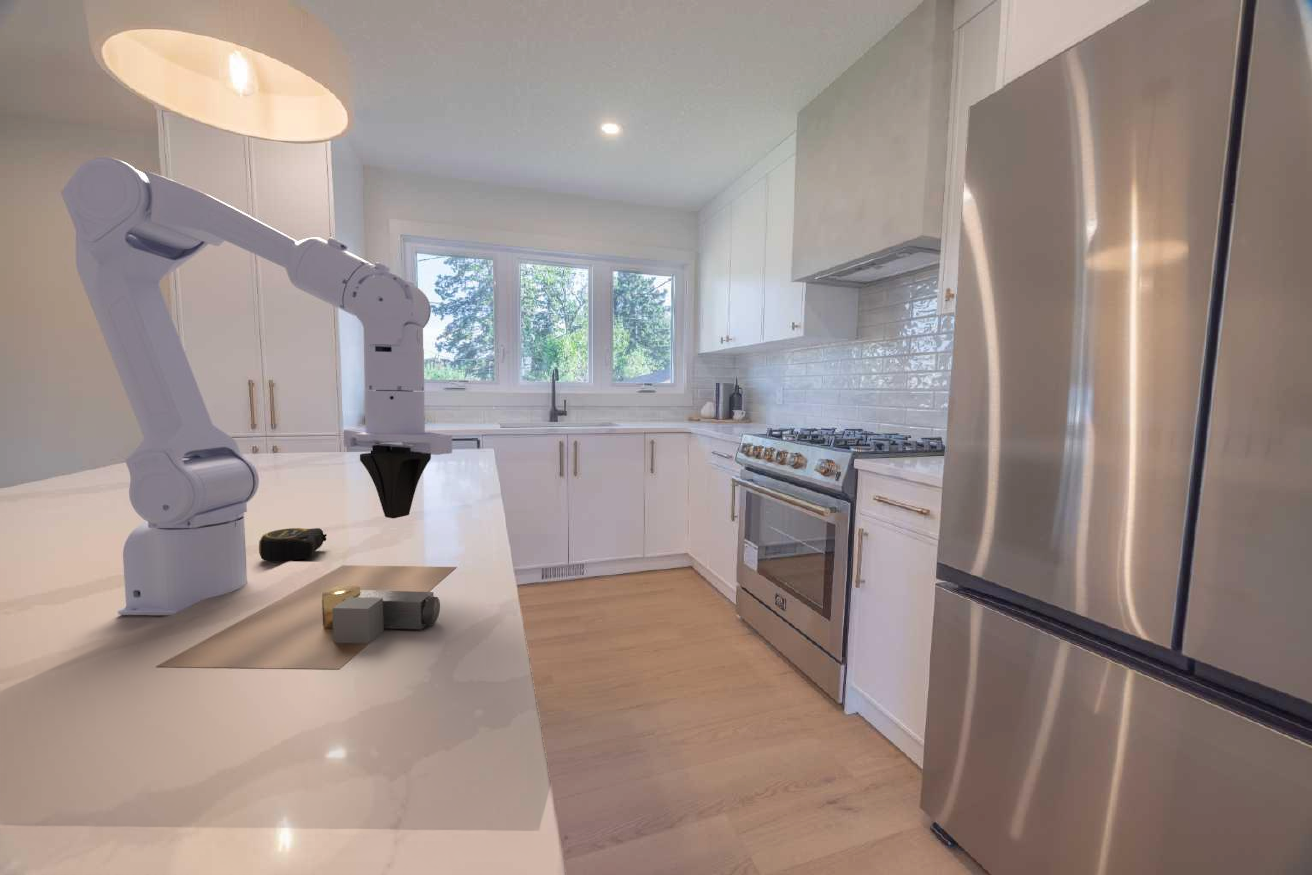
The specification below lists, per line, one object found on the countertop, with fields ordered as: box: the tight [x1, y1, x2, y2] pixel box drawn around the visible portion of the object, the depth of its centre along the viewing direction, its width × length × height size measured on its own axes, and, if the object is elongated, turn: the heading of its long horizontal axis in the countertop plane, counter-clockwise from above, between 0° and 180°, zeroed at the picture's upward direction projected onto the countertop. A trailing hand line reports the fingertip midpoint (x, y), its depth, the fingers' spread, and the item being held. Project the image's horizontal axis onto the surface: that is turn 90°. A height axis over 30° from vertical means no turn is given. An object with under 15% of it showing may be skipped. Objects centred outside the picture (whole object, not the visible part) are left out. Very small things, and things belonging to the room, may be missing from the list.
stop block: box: [332, 597, 385, 644], centre depth 45 cm, size 3×2×3 cm
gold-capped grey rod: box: [322, 585, 441, 630], centre depth 47 cm, size 10×3×3 cm, turn 88°
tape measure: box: [258, 527, 327, 563], centre depth 71 cm, size 7×7×4 cm
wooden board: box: [155, 564, 458, 670], centre depth 52 cm, size 14×24×2 cm, turn 0°
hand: (397, 516), depth 57 cm, fingers closed
